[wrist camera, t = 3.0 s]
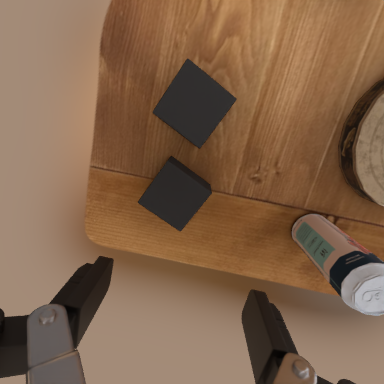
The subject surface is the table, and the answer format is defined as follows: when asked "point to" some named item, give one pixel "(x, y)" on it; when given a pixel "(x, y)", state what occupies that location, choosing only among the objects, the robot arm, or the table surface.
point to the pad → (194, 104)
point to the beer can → (343, 263)
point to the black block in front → (175, 194)
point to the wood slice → (365, 146)
